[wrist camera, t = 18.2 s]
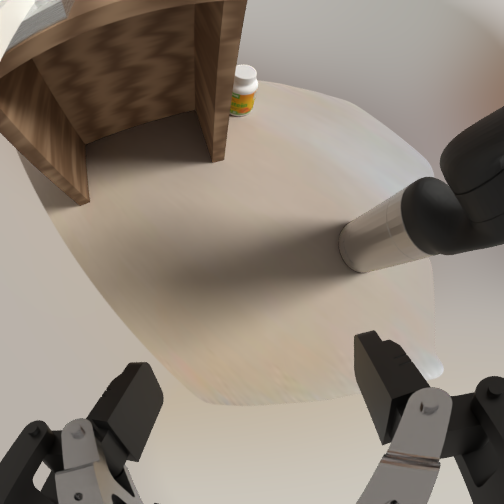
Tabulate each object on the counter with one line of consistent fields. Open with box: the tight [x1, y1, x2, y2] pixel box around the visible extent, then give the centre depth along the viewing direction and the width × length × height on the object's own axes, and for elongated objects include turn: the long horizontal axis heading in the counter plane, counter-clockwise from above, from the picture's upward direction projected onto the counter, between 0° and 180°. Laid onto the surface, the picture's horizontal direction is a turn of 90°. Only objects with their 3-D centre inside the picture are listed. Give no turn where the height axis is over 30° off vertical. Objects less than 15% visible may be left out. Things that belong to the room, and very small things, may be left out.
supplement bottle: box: [230, 65, 258, 116], centre depth 42 cm, size 5×5×10 cm
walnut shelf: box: [0, 0, 247, 206], centre depth 27 cm, size 26×14×32 cm, turn 109°
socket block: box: [4, 0, 75, 54], centre depth 9 cm, size 11×12×2 cm
